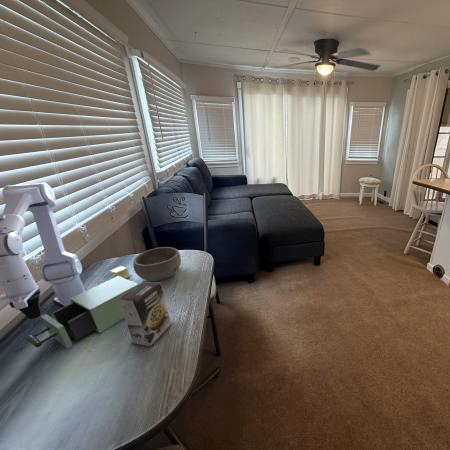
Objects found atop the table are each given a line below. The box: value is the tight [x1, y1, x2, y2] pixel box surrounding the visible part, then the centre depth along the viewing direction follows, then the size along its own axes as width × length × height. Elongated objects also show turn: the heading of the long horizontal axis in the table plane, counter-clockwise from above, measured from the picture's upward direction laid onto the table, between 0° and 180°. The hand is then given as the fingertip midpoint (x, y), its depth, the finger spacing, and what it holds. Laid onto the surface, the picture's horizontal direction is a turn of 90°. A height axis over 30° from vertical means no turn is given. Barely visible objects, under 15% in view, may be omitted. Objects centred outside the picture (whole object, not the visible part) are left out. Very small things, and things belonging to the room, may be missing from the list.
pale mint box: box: [70, 276, 140, 333], centre depth 82 cm, size 15×13×9 cm
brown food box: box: [119, 280, 172, 347], centre depth 72 cm, size 9×6×16 cm
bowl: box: [132, 246, 182, 282], centre depth 104 cm, size 17×18×10 cm
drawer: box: [26, 302, 97, 349], centre depth 73 cm, size 18×11×7 cm, turn 154°
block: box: [110, 265, 131, 279], centre depth 103 cm, size 4×4×4 cm
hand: (35, 316), depth 69 cm, fingers closed
